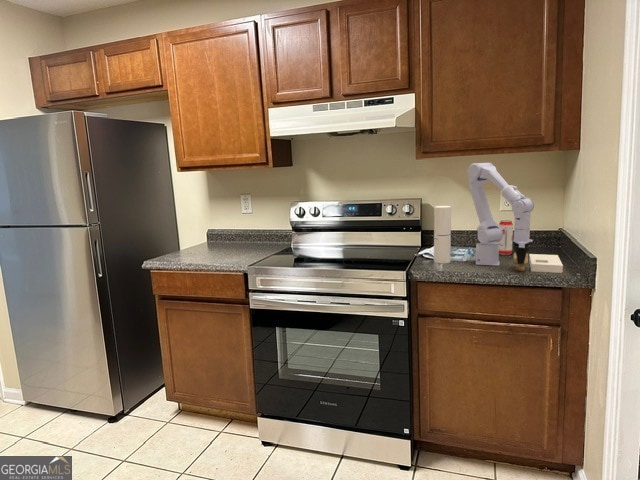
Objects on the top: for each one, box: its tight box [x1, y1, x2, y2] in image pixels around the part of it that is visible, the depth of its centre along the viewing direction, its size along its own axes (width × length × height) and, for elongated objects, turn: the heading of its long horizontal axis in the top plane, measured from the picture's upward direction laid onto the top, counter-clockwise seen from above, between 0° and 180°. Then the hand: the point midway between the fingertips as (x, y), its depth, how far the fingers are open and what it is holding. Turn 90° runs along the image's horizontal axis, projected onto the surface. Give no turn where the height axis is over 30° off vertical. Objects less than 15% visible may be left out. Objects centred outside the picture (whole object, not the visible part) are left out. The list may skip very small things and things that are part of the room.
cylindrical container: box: [433, 205, 452, 264], centre depth 193 cm, size 7×7×25 cm
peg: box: [512, 251, 529, 272], centre depth 175 cm, size 5×5×7 cm
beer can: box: [498, 219, 514, 256], centre depth 205 cm, size 6×6×16 cm
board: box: [528, 253, 564, 274], centre depth 180 cm, size 11×20×3 cm, turn 157°
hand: (520, 261), depth 175 cm, fingers closed on peg, 5 cm apart
